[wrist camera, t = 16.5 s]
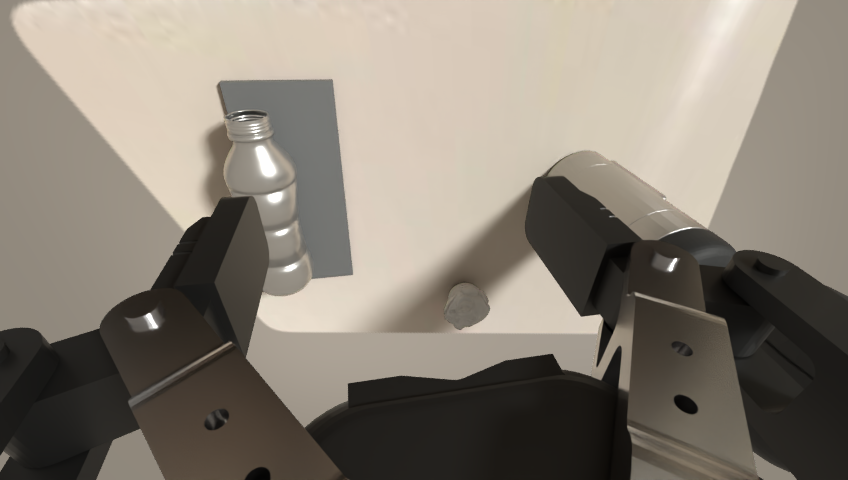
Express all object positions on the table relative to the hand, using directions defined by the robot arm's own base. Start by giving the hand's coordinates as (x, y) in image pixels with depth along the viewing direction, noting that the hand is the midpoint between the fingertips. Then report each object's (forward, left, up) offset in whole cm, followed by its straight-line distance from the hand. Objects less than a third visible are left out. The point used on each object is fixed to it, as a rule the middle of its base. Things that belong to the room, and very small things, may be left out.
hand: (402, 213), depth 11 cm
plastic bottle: (+10, +25, -26) cm, 38 cm away
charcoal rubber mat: (+8, +15, -30) cm, 34 cm away
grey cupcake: (-12, +32, -30) cm, 45 cm away
